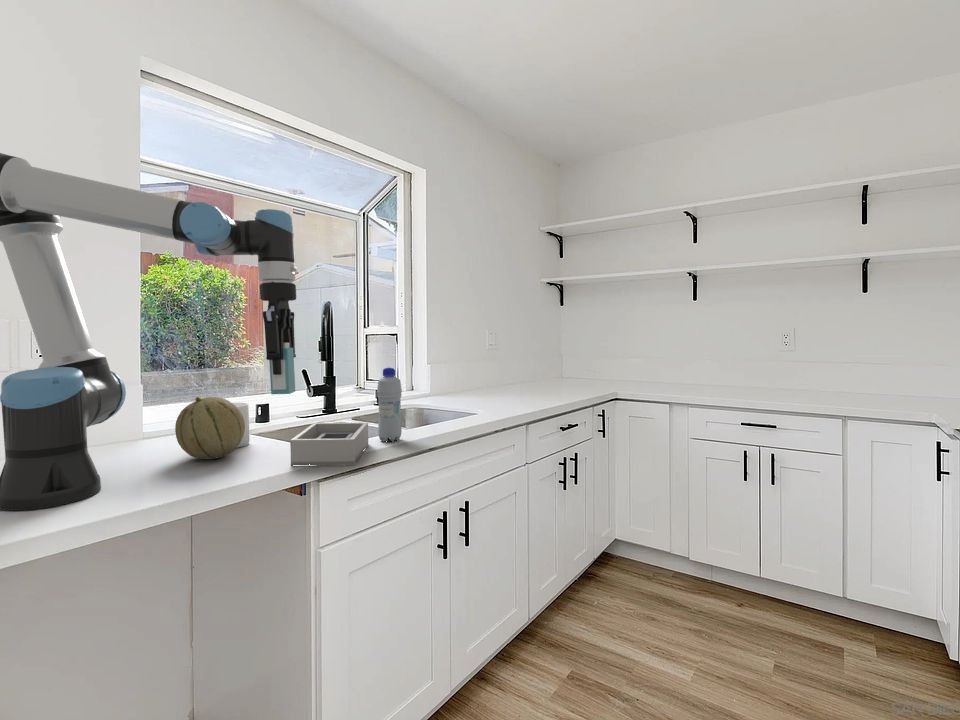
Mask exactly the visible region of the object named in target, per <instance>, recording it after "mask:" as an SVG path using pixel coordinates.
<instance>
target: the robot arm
mask: <svg viewBox="0 0 960 720" xmlns="http://www.w3.org/2000/svg"><path fill="white" fill-rule="evenodd" d="M61 217H64V218H69V219H73V220H78V221H82V222H83V221H84V222H87V223H92V224H98V225H102V226H103V225H104V226H107V227H112V228H116V229H121V230H126V231H131V232H136V233H141V234H144V235H145V234H146V235H150V236H155V237H161V238H165V239H171V240H175V241H179V242H184V243H187V244H193V245H194V247H195V249H196V250H197V253H199V254H201V255H203V256H204V255H205V256H215V257H220V256H257V265H258V266H257V269H258V272H257V273H258V280H259V281H260V284H259V285H258V286H259V299H260V300H261V301H263V302H267V310H263V311H262V317H263V325H264V336H265V337H264V338H265V351H266V352H265V354H266V357H265V358H266V360H267V361H269V360H271V367H272V385H273V390H282V389H286V374H285V360H282V359H283V343H289V346H290V348H293V354H294V358H296V357H297V353H296V347H295V346H296V345H295V344H296V343H295V341H296V340H295V312H294V311H292V310H291V309H290V303H289V302H290V301H296V300H297V285H296V284H295V283H293V282H296V272H297V271H298V267H297V266H295V263H296V261H295V243H294V242H295V241H294V238H295V237H294V236H295V235H294V234H295V233H294V228H293V219H292V214H290V213H289V212H288V211H285V210H282V209H276V208H266V209H258V210H257V211H256V212H255V216H254V219H231V217H229V216H228V215H227V214H226V213H225V212H224V211H223V209H221V208H219V207H217V206H216V205H215V204H211V203H209V202H205V201H195V202H192V201H185V200H182V199H178V198H172V197H168V196H164V195H160V194H155V193H152V192H147V191H142V190H138V189H133V188H128V187H124V186H120V185H116V184H112V183H106V182H102V181H99V180H94V179H93V180H92V179H89V178H84V177H79V176H76V175H70V174H67V173H62V172H58V171H53V170H50V169H49V170H48V169H45V168H40V167H36V166H32V165H31V163H30V162H29V161H27V160H26V159H25V158H22V157H18V156H15V155H9V154H5V153H1V152H0V242H1V243H2V245H3V248H4V250H5V254H6V257H7V259H8V262H9V265H10V268H11V271H12V274H13V278H14V280H15V282H16V286H17V289H18V290H19V294H20V297H21V300H22V303H23V306H24V308H25V313H26V314H27V318H28V320H29V323H30V325H31V326H30V327H31V328H32V331H33V334H34V337H35V339H36V340H35V341H36V343H37V346H38V350H39V352H40V354H41V357H42V361H41V363H40V365H39V366H38V367H37V368H35V369H26V370H22V371H21V370H20V371H17V372H14V373H12V374H9V375H7V376H5V378H3V380H2V382H1V387H0V388H1V391H0V405H1V414H2V415H1V417H2V429H3V442H4V443H3V444H4V458H5V459H4V460H5V461H4V464H3V468H2V470H1V473H0V510H2V509H5V510H4V511H28V510H39V509H47V508H52V507H57V506H62V505H66V504H72V503H74V502H78V501H82V500H83V499H87V498H90V497H92V496H95V495H96V494H97V493H99V492H100V491H101V490H102V489H101V488H102V486H101V485H102V484H101V483H102V482H101V476H100V474H98V471H97V469H96V466H95V463H94V461H93V459H92V457H91V455H90V453H89V451H88V449H89V448H88V438H87V437H88V435H87V434H88V432H87V431H88V430H87V428H89V427H91V426H95V425H98V424H102V423H104V422H106V421H107V420H109V419H110V418H111V417H114V416H115V415H116V414H117V413H118V412H119V411H120V409H121V408H122V407H123V405H124V403H125V401H126V395H127V392H126V385H125V383H124V381H123V379H122V378H121V377H120V376H119V375H118V374H117V373H116V372H114V371H113V370H111V368H110V366H109V363H108V359H107V357H106V355H105V354H103V353H101V352H99V351H96V350H95V349H94V346H93V342H92V341H93V340H92V338H91V336H90V333H89V330H88V326H87V324H86V321H85V317H84V315H83V312H82V311H83V310H82V309H81V305H80V303H79V299H78V297H77V294H76V291H75V287H74V285H73V281H72V279H71V276H70V273H69V270H68V267H67V266H68V265H67V264H66V261H65V258H64V255H63V252H62V249H61V245H60V243H59V240H58V236H59V235H60V234H61V232H62V231H64V226H63V224H62V221H61Z"/></svg>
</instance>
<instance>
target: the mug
mask: <svg viewBox="0 0 960 720" xmlns="http://www.w3.org/2000/svg"><path fill="white" fill-rule="evenodd" d="M232 403H233V404H234V405H235V406H236V407H237V408H238V409H239V411H240V412H241V414H242V415H243V418H244V422H245V431H244V436H243V438H242V440H241V442H240V443H239V445H238V446H237V448H236V449H239V448H243V447H246V446H248V445H249V443H250V440H251V439H250V437H251V436H250V414H249V413H250V412H249V411H250V409H249V408H250V406H249V403H247V402H232Z"/></svg>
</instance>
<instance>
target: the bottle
mask: <svg viewBox="0 0 960 720" xmlns="http://www.w3.org/2000/svg"><path fill="white" fill-rule="evenodd" d="M376 392H377V393H376V394H377V396H376V397H377V398H378V430H377V433H378V438H379V440H380V441H381V442H385V441H387V442H388V441H389V439H390V442H391V441H393V442H395V441H396V440H398V441H400V439H401V436H402V431H403V430H402V421H401V420H402V419H401V418H402V417H401V414H402V413H401V410H402V409H401V398H402V396H403V395H402V392H403V390H402V383H401V379H400V378H398V377H396V369H395V368H393V367H385V368H383V369H382V377H381V378H379V379H378V380H377V390H376ZM388 438H389V439H388ZM383 440H384V441H383Z"/></svg>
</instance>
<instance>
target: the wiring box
mask: <svg viewBox="0 0 960 720" xmlns="http://www.w3.org/2000/svg"><path fill="white" fill-rule="evenodd" d="M289 443H290V445H289V446H290V449H289V450H290V467H291V466H293V465H309V464H310V465H317V466H316V467H350V466H351V467H353V466H355V465H356V464H357V463H358V461H359V460H360V458H361V456H362V455H363V454H362V452H363V450H364V449H365V448H366V447H367V448H368V446H369V422H313V423H312V424H311V425H309V426H308V427H307V428H304V429H303V430H302V431H301V432H299V433H298V434H296V435H295V436H293V438H291V439H290V441H289ZM367 445H368V446H367ZM367 448H366V449H367ZM366 449H365V450H366ZM363 453H364V452H363ZM361 454H362V455H361Z"/></svg>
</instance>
